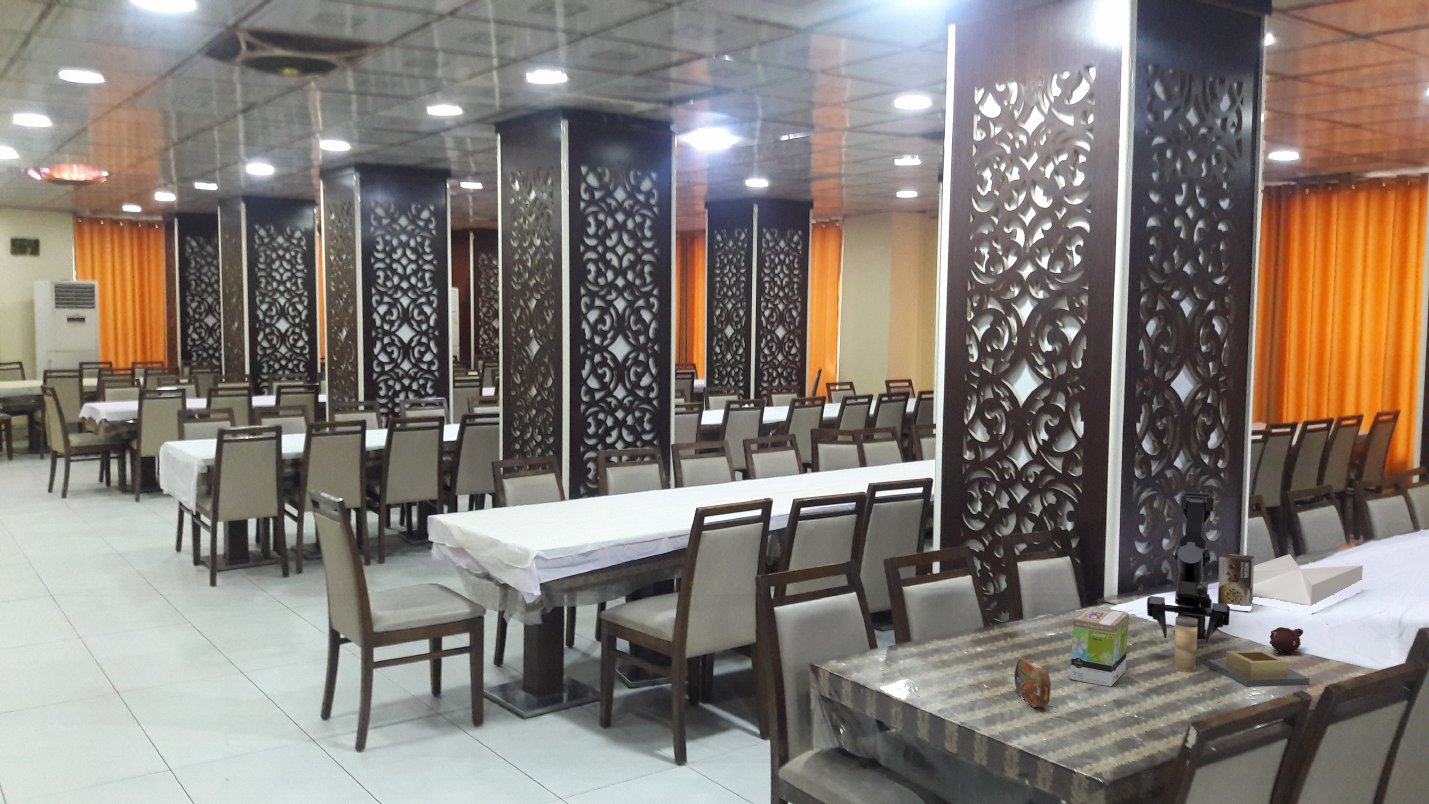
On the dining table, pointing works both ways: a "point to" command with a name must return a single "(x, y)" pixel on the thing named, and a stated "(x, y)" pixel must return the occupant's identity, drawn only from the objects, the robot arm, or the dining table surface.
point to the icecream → (1285, 640)
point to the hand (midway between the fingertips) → (1185, 639)
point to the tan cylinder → (1185, 643)
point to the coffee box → (1235, 579)
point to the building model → (1301, 581)
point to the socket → (1257, 669)
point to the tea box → (1099, 646)
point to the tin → (1032, 683)
